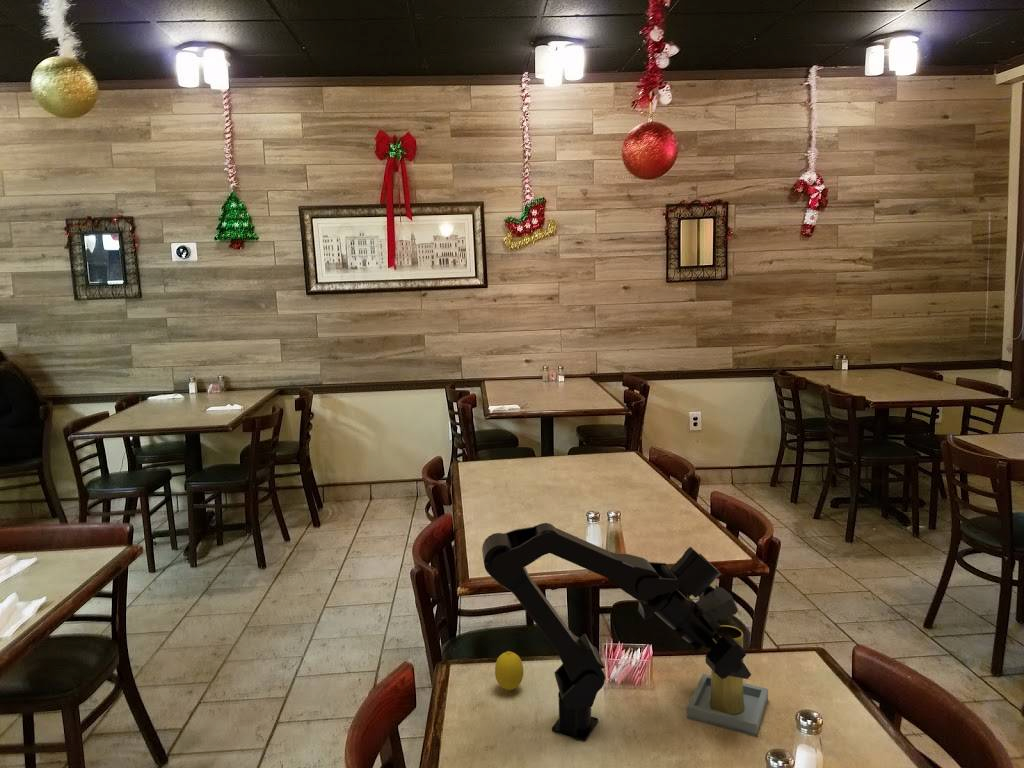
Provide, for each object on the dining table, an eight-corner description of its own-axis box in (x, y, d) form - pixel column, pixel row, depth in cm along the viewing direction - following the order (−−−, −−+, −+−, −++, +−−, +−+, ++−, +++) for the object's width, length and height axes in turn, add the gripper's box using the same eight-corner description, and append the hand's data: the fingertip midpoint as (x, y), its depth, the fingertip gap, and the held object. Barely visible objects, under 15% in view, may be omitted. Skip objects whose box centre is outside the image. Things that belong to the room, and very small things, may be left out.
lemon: (507, 679, 140) (506, 641, 139) (529, 688, 136) (528, 650, 135) (489, 691, 135) (488, 653, 134) (511, 701, 132) (510, 662, 131)
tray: (756, 736, 119) (756, 724, 119) (686, 718, 125) (686, 706, 125) (767, 699, 130) (768, 688, 130) (702, 684, 136) (703, 673, 135)
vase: (723, 691, 132) (724, 620, 130) (751, 706, 127) (753, 633, 125) (702, 703, 128) (703, 630, 126) (730, 719, 123) (731, 643, 121)
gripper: (735, 601, 114) (795, 655, 118) (685, 558, 132) (738, 607, 136) (691, 652, 114) (751, 705, 117) (647, 603, 132) (700, 650, 136)
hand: (735, 662), depth 127 cm, fingers open, 9 cm apart
